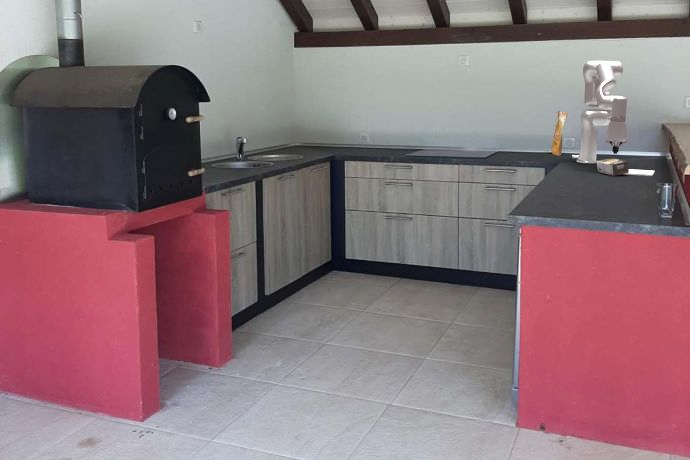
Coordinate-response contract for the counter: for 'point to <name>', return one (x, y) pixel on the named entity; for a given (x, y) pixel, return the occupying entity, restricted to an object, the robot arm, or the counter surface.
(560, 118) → the pancake mix bag
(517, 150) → the counter surface
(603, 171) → the coffee box
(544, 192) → the counter surface
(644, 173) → the mat
